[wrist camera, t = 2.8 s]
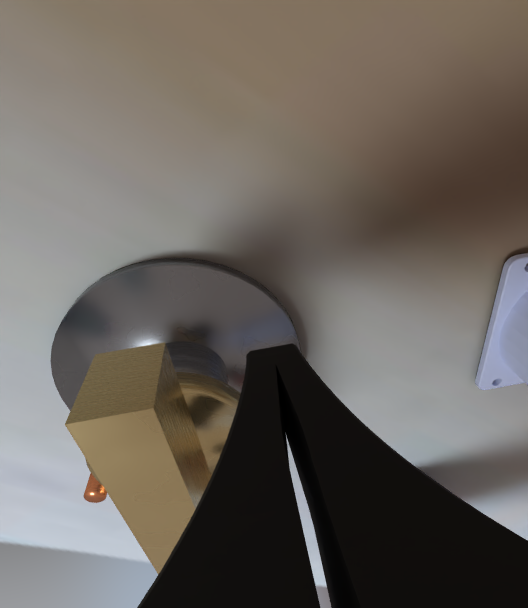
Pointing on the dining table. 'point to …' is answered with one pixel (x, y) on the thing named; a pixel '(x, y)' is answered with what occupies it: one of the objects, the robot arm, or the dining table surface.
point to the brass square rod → (151, 439)
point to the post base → (169, 324)
